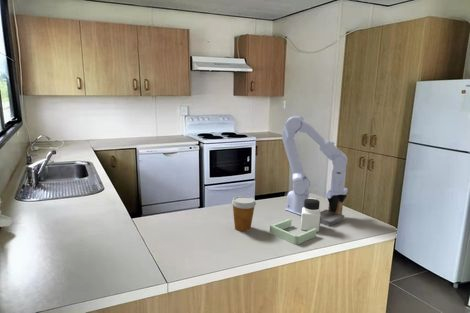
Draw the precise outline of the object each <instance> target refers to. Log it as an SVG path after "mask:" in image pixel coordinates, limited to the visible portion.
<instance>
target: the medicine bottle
mask: <svg viewBox="0 0 470 313" xmlns="http://www.w3.org/2000/svg"><path fill="white" fill-rule="evenodd" d="M320 204H321V202H320V200H319V199H318V198H317V199H316V198H313V197H309V198H307V199H305V200H304V208H302V215H300V217H301V218H300V230H302V231H309V230H311V229H314V228H315V229H317V231H316V233H319V232H320V226H321V223H320V217H321V215H320V212H321V210H320Z"/></svg>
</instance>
